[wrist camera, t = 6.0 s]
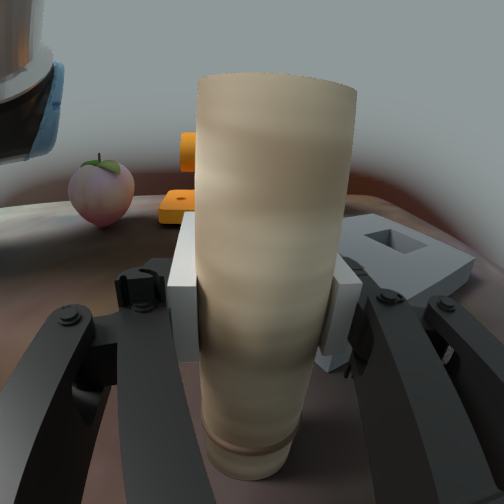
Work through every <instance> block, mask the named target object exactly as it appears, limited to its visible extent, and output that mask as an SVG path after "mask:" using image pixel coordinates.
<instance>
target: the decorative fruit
mask: <svg viewBox="0 0 504 504" xmlns="http://www.w3.org/2000/svg"><path fill="white" fill-rule="evenodd" d="M98 160H99V161H98ZM98 160H93V161H87V162H84V163H83V164H82V165H81V166H80V169H78V170H77V171H76V172H75V174H74V175H73V177H72V178H71V180H70V183H69V186H68V195H69V199H70V201H71V203H72V205H73V207H74V208H75V209H76V211H77V212H78V213H79V214H80V215H81V216H82V217H83V218H84V219H85V220H87V221H89V222H90V223H93V224H95V225H97V226H100V227H107V226H109V225H111V224H112V223H114V222H115V221H117V220H119V219H120V218H121V217H122V216H123V215H124V214H125V213H126V211H127V210H128V208H129V206H130V204H131V201H132V198H133V194H134V180H133V177H132V175H131V173H130V172H129V171H128V170H127V169H126V168H125V167H124V166H123V165H121V164H119V163H117V162H116V161H113V160H106V161H103V162H101V160H100V153H98Z"/></svg>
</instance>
